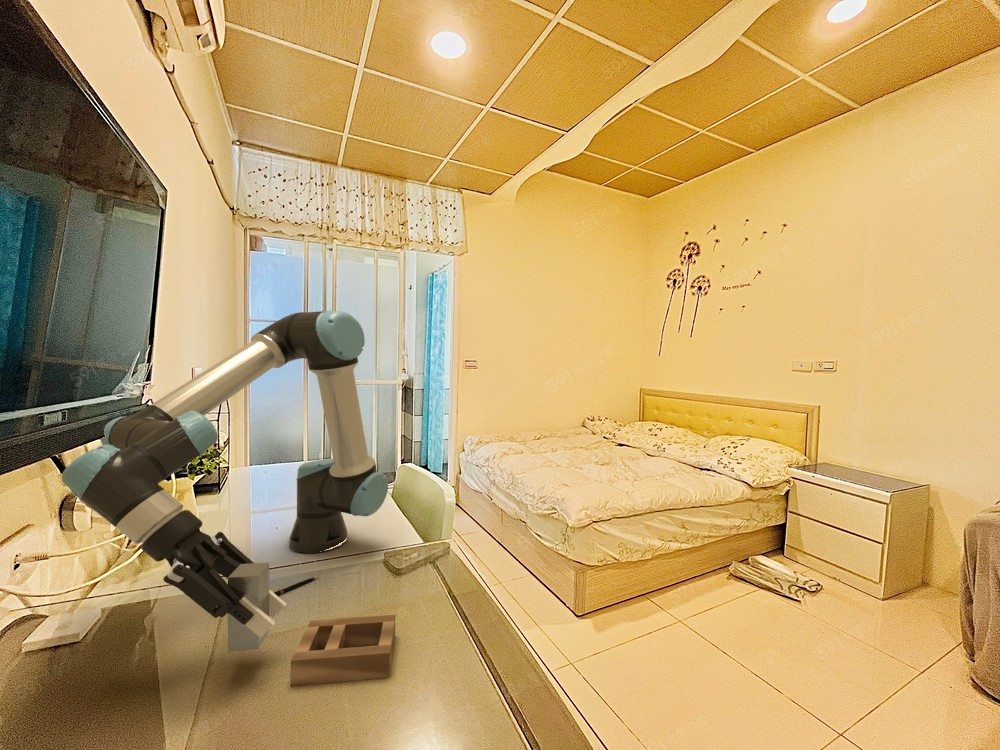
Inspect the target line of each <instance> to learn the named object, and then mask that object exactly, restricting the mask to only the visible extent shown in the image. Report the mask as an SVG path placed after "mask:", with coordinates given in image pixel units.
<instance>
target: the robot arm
mask: <svg viewBox="0 0 1000 750" xmlns="http://www.w3.org/2000/svg"><path fill="white" fill-rule="evenodd" d="M365 337H366V336H365V333H364V330H363V327H362V325H361V323H360V322H359V321H358V319H356V318H355V317H354V316H353V315H351V314H350V313H349V312H346V311H343V310H342V311H341V310H333V309H332V310H320V311H309V312H308V311H307V312H305V311H303V312H294V313H291V314H289V315H286V316H284V317H282V318H280V319H278V320H276V321H275V322H273V323H271V324H269V325H268V326H266V327H265V328H262V330H260V331H258V332H257V333H255V334H253V335H252V336H251V337H250V342H249V343H248V344H245V345H244V346H243V347H241V348H239V349H238V350H236V351H235V352H233V353H231V354H230V355H227V357H225V358H223V359H222V360H220V361H218V362H217V363H215V364H214V365H212V366H211V367H209V368H208V369H206V370H205V371H202V372H201V373H200V374H198V375H196V376H194V377H193V378H191V379H190V380H188V381H187V382H185V383H183V384H182V385H180V386H179V387H177V388H175V389H174V390H172V391H170V392H169V393H167V394H165V395H164V396H163V397H161V398H159V399H157V400H156V401H154V402H153V403H152V404H150V405H148V406H146V407H145V408H142V409H141V410H140V411H138V412H136V413H135V414H133V415H125V416H120V417H119V416H118V417H115V418H113V419H112V420H110V421H108V423H106V424H105V426H104V427H105V428H104V427H103V428H104V435H105V436H106V437H104V438H102V439H100V443H101V445H99V446H98V447H96V448H92V449H90V450H88V451H86V452H84V453H83V454H81V455H80V456H79V457H77V458H75V459H74V460H73V461H72V462H70V464H68V465H67V466H66V467H65V469H64V470H63V471H62V473H61V478H60V479H61V482H62V483H63V484H64V486H66V487H67V488H68V489H70V491H71V492H72V493H74V494H75V496H76V497H78V499H79V501H80V502H83V503H85V505H87V506H89V507H90V508H91V509H92V510H93V511H94V512H96V513H97V514H98V515H99V516H101V517H102V518H103V519H104V520H106V522H108V523H110V524H111V525H112V526H113V527H114V528H116V529H117V530H118V531H119V532H121V533H122V534H123V535H124V536H125V537H126V538H128V539H129V541H131V542H132V543H134V544H141V543H142V544H141V546H140V547H141V551H143V552H144V553H146V555H148V556H149V557H150V558H152V560H154V561H155V562H157V563H160V562H162V561H164V560H166V561H167V563H168V564H169V567H170V568H171V569H170V570H169V572H168V573H167V574H165V575H164V577H163V582H164V583H166V584H168V585H169V586H173V587H175V588H177V589H179V590H180V591H181V592H182V593H183V594H185V595H186V596H187V597H189V599H190V600H192V602H195V603H196V604H197V605H198V606H199V607H200V608H201V609H203V610H204V611H206V612H207V613H208V614H209V615H211V616H212V617H213V618H216V619H217V618H219V617H220V618H224V617H225V616H226V615H228V613H229V614H231V615H232V616H233V617H234V618H235V619H237V620H238V621H239V622H240V623H241V624H244V625H246V626H247V627H248V628H249V629H250V630H252V631H253V632H254V633H255V634H256V635H258V636H259V637H260V638H261V637H262V636H263V635H264V634H265V633H266V632H267V631H268V630H269V631H270V629H271V628H272V627H273V626H274V624H275V623H276V622H275V621H274V620H273V618H274V617H275V616H277V614H279V613H280V612H281V611H282V609H284V608H285V607H286V605H287V603H286V602H285V601H284V600H283V599H281V597H280V596H277V595H276V594H274V592H273V590H271V589H270V588H269V617H268V616H267V615H266V614H265V613H264V612H262V611H261V610H260V609H259V608H258V607H256V606H255V605H254V604H253V603H252V602H250V601H249V600H248V599H247V598H246V597H243V598H242V599H241V600H240V598H239V597H238V596H237V594H236V593H235V592H234V591H233V590H232V589H231V587H230V586H229V585H228V582H226V581H225V580H226V579H227V580H228V577H229V576H230V575H231V574H232V573H233V572H234V571H235V570H236V568H237V567H238V566H239V565H240V564H250V563H255V562H254V561H252V560H251V559H250V558H249V557H248V556H247V555H246V554H245V553H243V552H242V551H241V550H240V549H239V548H238V547H236V546H235V545H234V544H233V543H232V542H231V541H230V540H229V539H228V537H227V536H226V535H225V534H224V532H223V531H218V532H216V534H215V535H213V536H210V535H209V534H207V533H204V532H202V531H201V529H200V528H202V526H203V521H202V520H201V519H200V518H198V517H197V516H196V515H195V514H194V513H193V512H191V510H189V509H184V504H183V503H182V502H180V501H179V500H178V499H177V498H175V497H174V496H173V495H172V494H170V492H168V491H167V490H166V489H164V487H162V486H161V485H160V483H162V482H163V481H164V480H166V479H167V478H168V477H170V476H171V475H173V474H174V473H176V472H177V471H180V470H181V469H182V468H183V467H184V466H185V467H186V466H187V465H188V464H189V463H190V462H192V461H193V460H195V459H197V458H198V457H199V456H202V455H203V454H204V453H205V452H206V451H207V450H209V449H210V448H211V447H212V446H214V445H216V443H217V441H219V440H218V438H219V433H218V431H217V429H216V427H215V426H214V424H213V423H212V422H211V420H209V418H208V417H206V415H207V414H209V413H211V412H212V411H213V410H215V409H216V408H218V407H219V406H221V405H222V404H223V403H225V402H226V401H227V400H229V399H230V398H231V397H233V396H234V395H236V394H237V393H239V392H240V391H241V390H243V389H244V388H246V387H247V386H249V385H251V383H253V382H254V381H255V380H257V379H259V378H260V377H262V376H263V375H265V374H266V373H267V372H269V371H270V370H271V369H273V368H274V369H280V368H282V367H283V366H285V365H286V364H287V363H290V362H292V361H295V360H301V359H305V360H306V362H307V366H308V371H309V372H311V373H313V374H314V375H315V376H316V377H317V383H318V387H319V391H320V393H319V394H320V398H321V402H322V409H323V413H324V418H325V424H326V427H327V433H328V439H329V444H330V449H331V454H332V458H324V459H318V460H313V461H312V460H311V461H308V462H305V463H302V464H301V465H299V467H298V469H297V476H296V518H295V520H294V524H293V527H292V529H291V532H290V536H289V538H288V540H289V542H288V543H289V544H288V547H289V546H290V547H289V549H290V548H291V549H292V550H291V549H290V550H291V551H293V550H294V551H293V552H295V551H298V552H297V553H299V552H304V553H303V554H315V553H314V552H319V553H321V552H320V551H324V550H326V549H329V548H331V547H334V546H336V545H338V544H339V543H341V542H343V541H344V540H345V539H346V537H347V538H348V529H347V526H346V525H347V524H346V522H345V520H344V517H343V514H342V513H345V514H349V515H352V516H355V517H357V516H358V517H359V516H360V517H370V516H372V515H374V514H375V513H377V511H378V510H380V508H381V507H382V506H383V504H384V502H385V500H386V498H387V495H388V491H389V481H388V478H387V476H386V474H384V473H383V472H381V471H377V464H376V460H375V458H373V457H372V456H370V455H369V454H368V453H369V451H368V447H367V442H366V437H365V436H366V435H365V431H364V424H363V419H362V413H361V406H360V402H359V401H360V400H359V396H358V389H357V383H356V379H355V378H356V377H355V371H354V369H355V368H356V367H357V365H358V364H359V359H358V357H359V356H360V355H361V354H362V352H363V350H364V349H363V348H364V347H365V344H366V343H365V342H366V340H365ZM183 509H184V510H183ZM223 577H224V578H226V579H224V578H223Z"/></svg>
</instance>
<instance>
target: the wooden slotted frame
mask: <svg viewBox="0 0 1000 750" xmlns="http://www.w3.org/2000/svg"><path fill="white" fill-rule="evenodd" d="M395 640H396V614H387V615H386V614H385V615H373V616H372V615H371V616H370V615H369V616H356V617H343V618H342V617H341V618H326V619H315V620H314V619H313V620H310V621H309V622H308V625H307V627H306V629H305V631H304V633H303V634H302V637H301V639H300V641H299V643H298V645H297V647H296V649H295V651H294V653H293V656H292V658H291V660H290V681H289V684H290V687H296V686H306V685H308V686H309V685H317V684H329V683H339V682H350V681H361V680H363V681H364V680H372V679H382V678H383V679H384V678H390V674H391V667H392V659H393V652H394V645H395ZM370 645H371V646H370Z"/></svg>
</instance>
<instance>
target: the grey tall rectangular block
mask: <svg viewBox="0 0 1000 750" xmlns="http://www.w3.org/2000/svg"><path fill="white" fill-rule="evenodd" d="M227 584H228V585H229V586H230V587H231V589H232V590H233V591H234V592H235V593H236V594H237V596H238V597H239V598H240V600H241V599H242V598H243V597H246V598H247V599H248V600H249V601H250V602H252V603H253V604H254V605H255V606H256V607H258V608H259V609H260V610H261V611H262V612H264V613H265V614H266V615H267V616H268V617H270V615H269V589H270V562H256V563H255V562H254V563H250V564H240V565H239V566H238V567H237V568H236V570H235V571H234V572H233V573H232V574H231V575H230V576H229V577H228V579H227ZM269 633H270V629H269V630H268V631H267V632H266V633H265V634H264V635H263V636H262V637H261V638H260V637H259V636H258V635H256V634H255V633H254V632H253V631H252V630H250V629H249V628H248V627H247V626H246V625H244V624H241V623H240V622H239V621H238V620H237V619H235V618H234V617H233V616H232V615H231V614H229V613H227V652H228V653H230V652H232V653H233V652H240V651H241V652H243V651H254V650H259V649H260V647H261V645H262V644H263V642H264V641H265V639H266V637H267V636H268V634H269Z"/></svg>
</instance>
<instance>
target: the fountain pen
mask: <svg viewBox="0 0 1000 750" xmlns="http://www.w3.org/2000/svg"><path fill="white" fill-rule="evenodd" d="M319 577H320V575H318V576H316V577H315V576H312V577H310V578H308V579H305V580H302V581H299V582H296V583H293V584H292V585H290V586H287V587H284V588H282V589H275V590H272V592H273V593H274V594H276V595H277V596H278V597H280V596H283V595H285V594H286V593H289V592H292V591H293V590H296V589H299V588H301V587H303V586H305V585H307V584H309V583H312V582H314V581H315V580H317V579H319Z"/></svg>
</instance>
